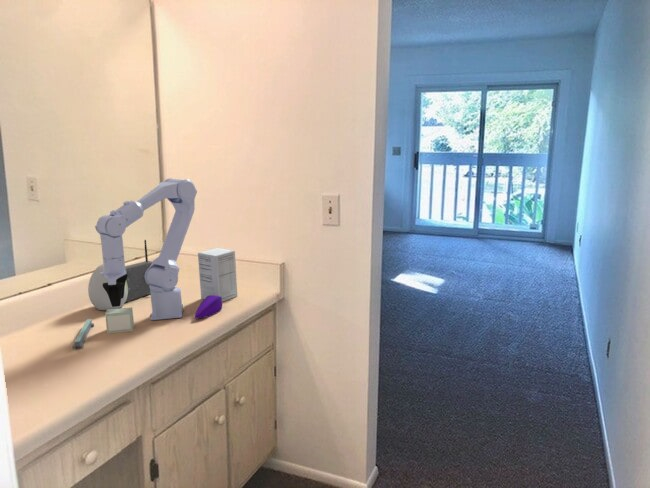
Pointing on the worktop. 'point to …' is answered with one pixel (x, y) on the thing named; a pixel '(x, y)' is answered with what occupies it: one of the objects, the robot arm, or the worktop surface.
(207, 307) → the crystal
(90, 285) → the decorative egg
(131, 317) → the soap box
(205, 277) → the supplement box
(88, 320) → the rail
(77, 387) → the worktop surface
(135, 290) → the electronic device
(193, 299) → the worktop surface
